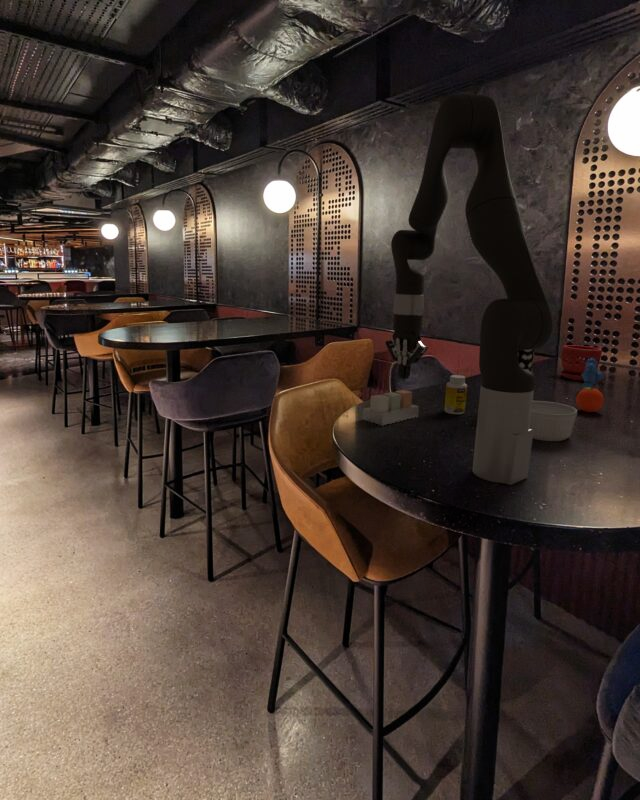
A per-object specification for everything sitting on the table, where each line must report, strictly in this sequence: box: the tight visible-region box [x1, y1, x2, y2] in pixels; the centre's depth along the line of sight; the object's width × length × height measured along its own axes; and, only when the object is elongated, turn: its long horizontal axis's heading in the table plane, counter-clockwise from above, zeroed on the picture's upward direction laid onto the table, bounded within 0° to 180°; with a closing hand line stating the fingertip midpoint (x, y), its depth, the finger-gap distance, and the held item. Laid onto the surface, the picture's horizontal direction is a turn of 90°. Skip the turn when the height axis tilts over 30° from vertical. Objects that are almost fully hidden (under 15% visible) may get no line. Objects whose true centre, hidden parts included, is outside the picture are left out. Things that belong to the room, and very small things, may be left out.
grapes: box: [581, 358, 605, 390], centre depth 164 cm, size 12×7×12 cm, turn 151°
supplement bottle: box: [443, 374, 468, 415], centre depth 139 cm, size 6×6×10 cm
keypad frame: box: [361, 403, 420, 427], centre depth 133 cm, size 7×14×3 cm, turn 130°
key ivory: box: [369, 394, 389, 413], centre depth 129 cm, size 3×3×4 cm
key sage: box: [382, 391, 401, 410], centre depth 132 cm, size 3×3×4 cm
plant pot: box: [560, 344, 603, 381], centre depth 189 cm, size 13×13×12 cm
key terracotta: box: [394, 389, 413, 407], centre depth 135 cm, size 3×3×4 cm
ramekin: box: [529, 400, 578, 442], centre depth 121 cm, size 13×13×7 cm
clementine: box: [575, 387, 605, 413], centre depth 143 cm, size 8×7×7 cm
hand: (403, 378), depth 133 cm, fingers closed
